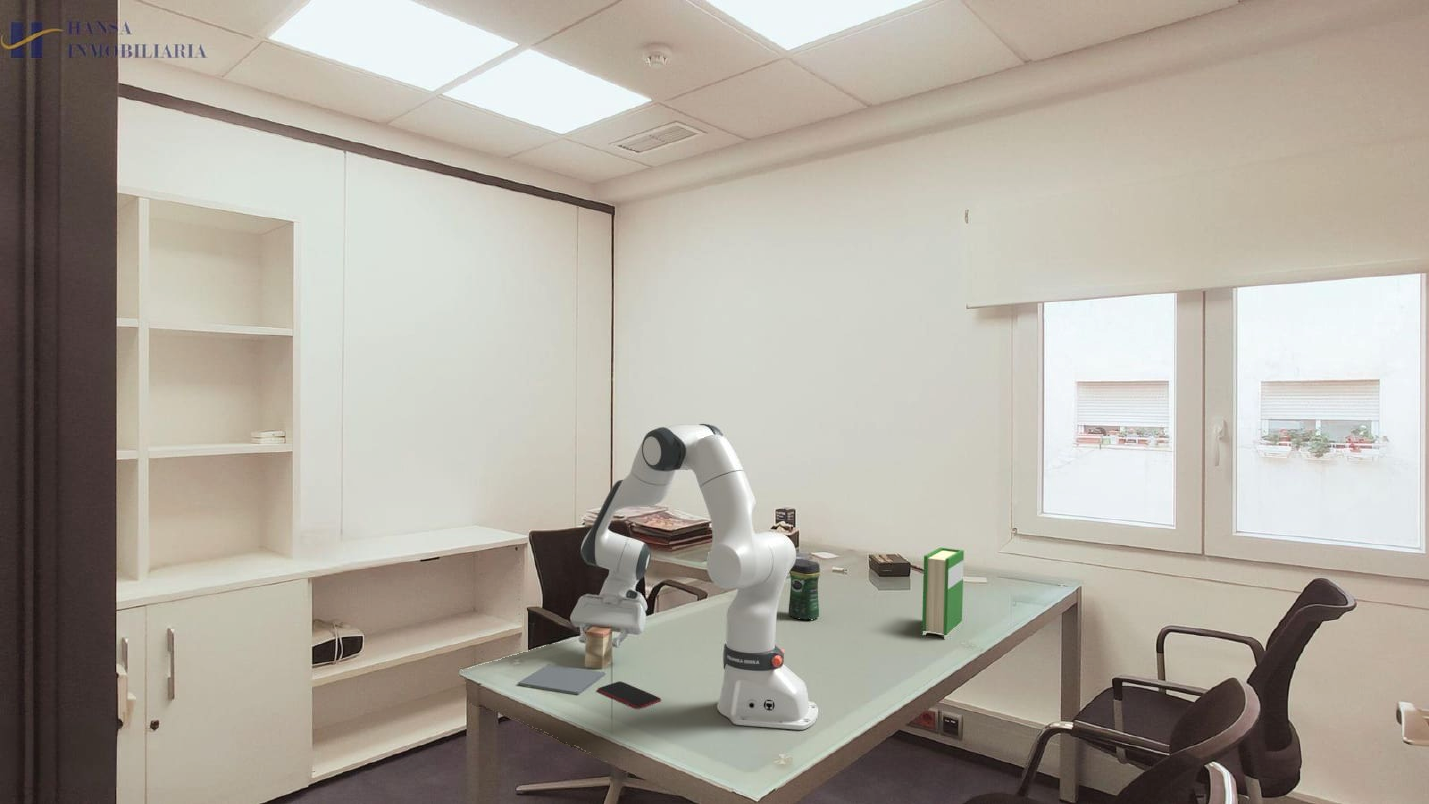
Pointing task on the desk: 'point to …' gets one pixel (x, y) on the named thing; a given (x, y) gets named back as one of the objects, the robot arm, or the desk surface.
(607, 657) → the beech block
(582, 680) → the rubber mat
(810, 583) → the coffee jar
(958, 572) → the hardback book
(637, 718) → the desk surface
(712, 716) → the desk surface
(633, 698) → the smartphone
